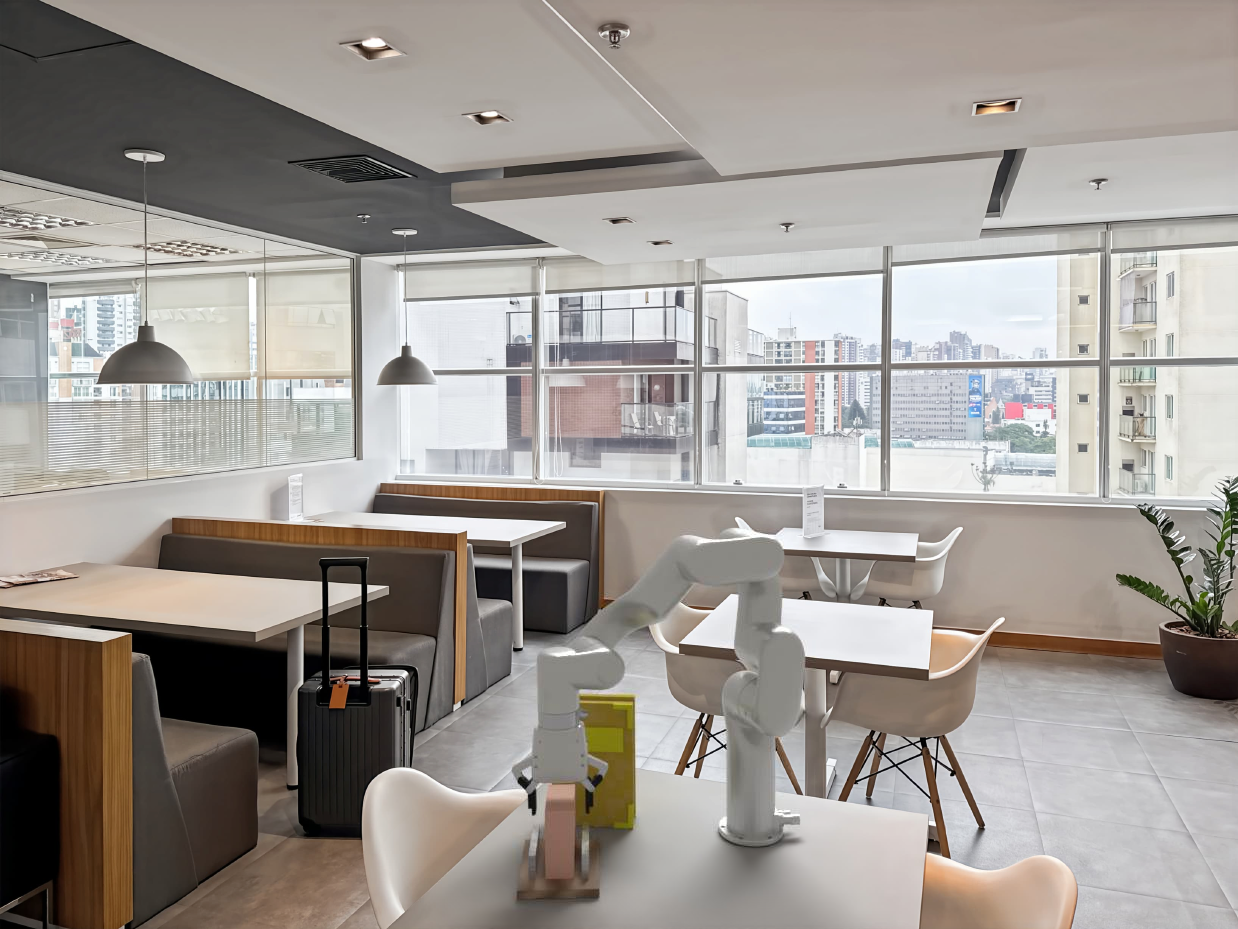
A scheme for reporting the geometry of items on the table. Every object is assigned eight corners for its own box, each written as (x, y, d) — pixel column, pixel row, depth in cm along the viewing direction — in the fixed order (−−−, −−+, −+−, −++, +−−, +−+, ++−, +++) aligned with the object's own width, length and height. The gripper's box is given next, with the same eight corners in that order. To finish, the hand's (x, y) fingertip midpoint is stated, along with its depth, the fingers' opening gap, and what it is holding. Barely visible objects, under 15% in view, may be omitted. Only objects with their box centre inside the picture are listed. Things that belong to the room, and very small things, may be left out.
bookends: (589, 845, 161) (588, 822, 161) (588, 879, 149) (588, 854, 149) (533, 846, 161) (533, 823, 160) (528, 881, 149) (528, 855, 148)
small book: (575, 847, 160) (575, 784, 160) (574, 878, 149) (573, 810, 149) (548, 847, 160) (548, 784, 160) (545, 879, 149) (544, 811, 149)
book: (636, 813, 177) (635, 694, 176) (633, 828, 171) (632, 704, 170) (555, 810, 179) (553, 692, 178) (549, 825, 172) (548, 702, 171)
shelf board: (598, 845, 164) (598, 837, 164) (599, 897, 146) (599, 888, 146) (525, 847, 164) (525, 839, 163) (516, 899, 146) (516, 890, 145)
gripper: (606, 709, 157) (608, 800, 158) (512, 712, 157) (514, 803, 158) (607, 723, 150) (609, 819, 151) (508, 726, 149) (510, 822, 150)
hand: (561, 811), depth 154 cm, fingers open, 9 cm apart
